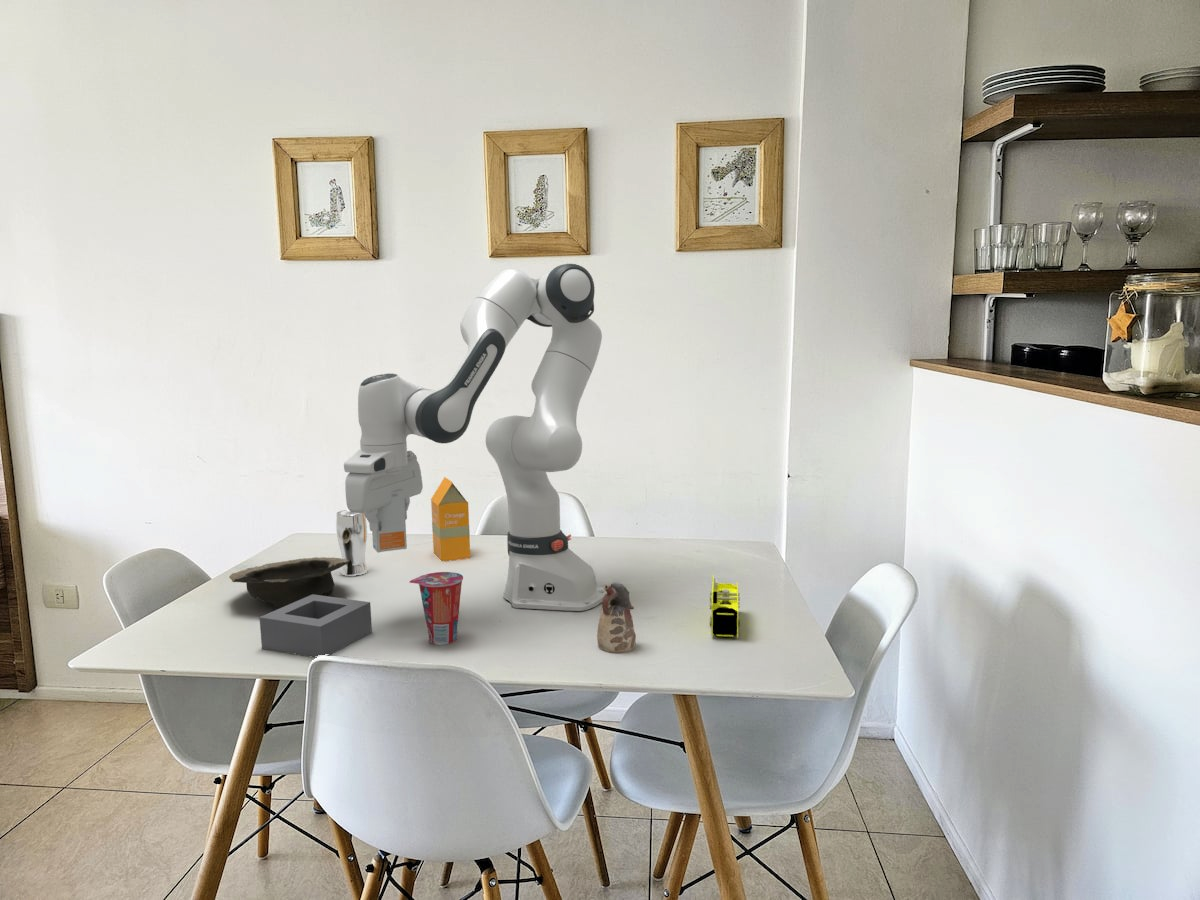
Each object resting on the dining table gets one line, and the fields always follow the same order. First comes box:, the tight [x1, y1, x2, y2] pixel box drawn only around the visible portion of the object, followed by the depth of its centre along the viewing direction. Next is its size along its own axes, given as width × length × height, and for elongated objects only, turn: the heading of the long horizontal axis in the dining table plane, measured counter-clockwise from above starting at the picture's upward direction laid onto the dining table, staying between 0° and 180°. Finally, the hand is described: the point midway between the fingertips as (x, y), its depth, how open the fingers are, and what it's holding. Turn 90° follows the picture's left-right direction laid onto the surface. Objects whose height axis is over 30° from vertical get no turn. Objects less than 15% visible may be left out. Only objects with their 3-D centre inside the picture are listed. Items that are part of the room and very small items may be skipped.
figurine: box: [596, 581, 637, 654], centre depth 151 cm, size 7×7×12 cm
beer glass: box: [336, 509, 368, 577], centre depth 199 cm, size 7×7×15 cm
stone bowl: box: [228, 556, 352, 611], centre depth 182 cm, size 25×25×9 cm
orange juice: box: [430, 476, 471, 562], centre depth 212 cm, size 8×9×20 cm
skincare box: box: [371, 489, 408, 554], centre depth 166 cm, size 6×4×12 cm
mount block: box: [259, 594, 373, 658], centre depth 157 cm, size 14×14×6 cm
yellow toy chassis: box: [709, 574, 741, 639], centre depth 161 cm, size 16×6×8 cm, turn 171°
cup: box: [409, 571, 464, 646], centre depth 155 cm, size 9×8×12 cm
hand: (388, 525), depth 166 cm, fingers closed on skincare box, 7 cm apart
